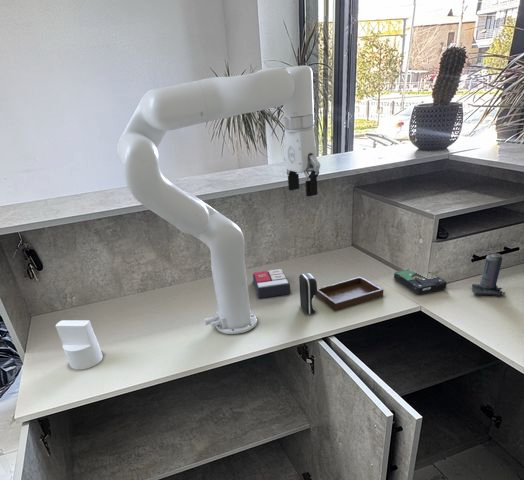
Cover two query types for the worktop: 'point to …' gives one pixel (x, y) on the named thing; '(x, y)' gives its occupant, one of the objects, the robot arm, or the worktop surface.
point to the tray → (349, 293)
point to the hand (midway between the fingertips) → (302, 192)
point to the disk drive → (419, 282)
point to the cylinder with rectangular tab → (79, 343)
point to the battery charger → (307, 292)
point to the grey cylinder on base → (489, 277)
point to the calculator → (271, 283)
